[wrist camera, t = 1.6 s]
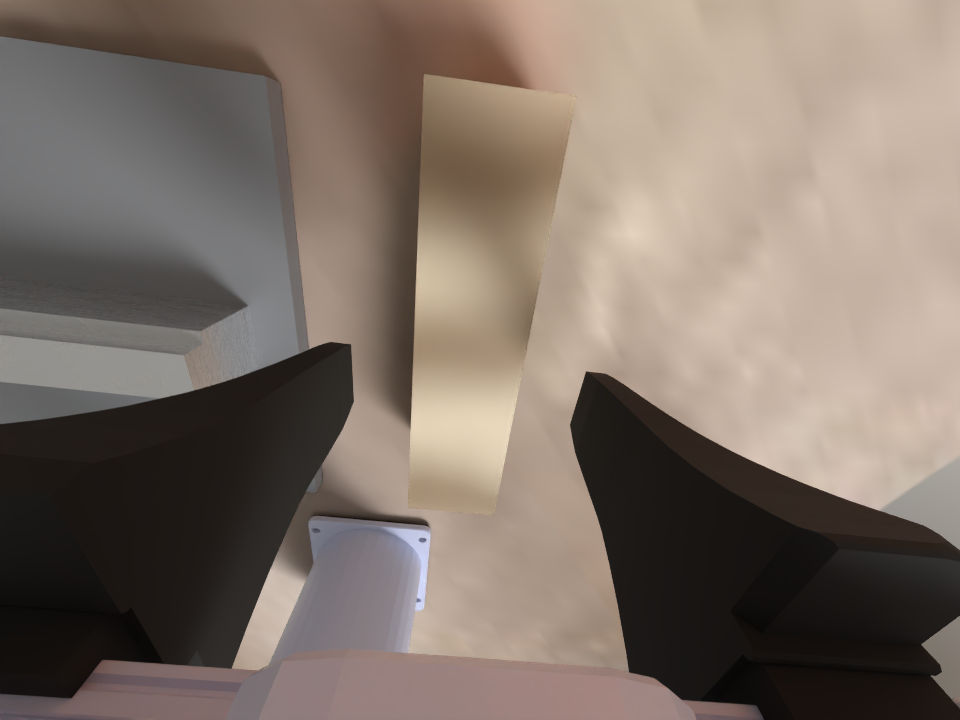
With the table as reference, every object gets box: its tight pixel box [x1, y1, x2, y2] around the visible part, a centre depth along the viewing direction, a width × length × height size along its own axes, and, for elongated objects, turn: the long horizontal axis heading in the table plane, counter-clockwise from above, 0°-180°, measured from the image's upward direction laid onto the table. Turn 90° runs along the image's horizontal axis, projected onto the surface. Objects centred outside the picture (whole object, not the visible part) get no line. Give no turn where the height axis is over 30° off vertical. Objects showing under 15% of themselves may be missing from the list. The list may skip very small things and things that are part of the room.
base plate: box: [0, 36, 323, 493], centre depth 16 cm, size 20×22×1 cm
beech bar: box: [408, 74, 577, 515], centre depth 15 cm, size 16×4×5 cm, turn 173°
